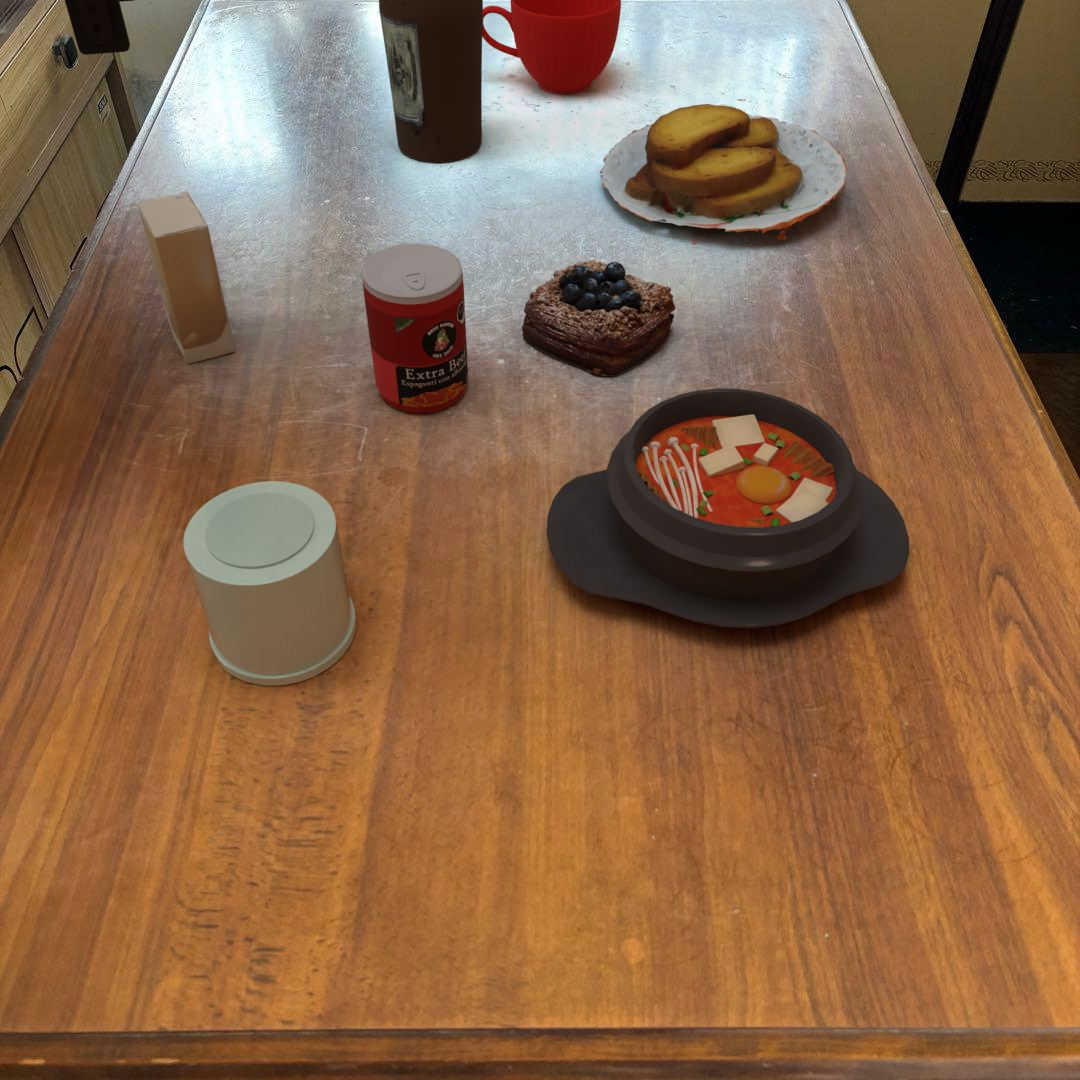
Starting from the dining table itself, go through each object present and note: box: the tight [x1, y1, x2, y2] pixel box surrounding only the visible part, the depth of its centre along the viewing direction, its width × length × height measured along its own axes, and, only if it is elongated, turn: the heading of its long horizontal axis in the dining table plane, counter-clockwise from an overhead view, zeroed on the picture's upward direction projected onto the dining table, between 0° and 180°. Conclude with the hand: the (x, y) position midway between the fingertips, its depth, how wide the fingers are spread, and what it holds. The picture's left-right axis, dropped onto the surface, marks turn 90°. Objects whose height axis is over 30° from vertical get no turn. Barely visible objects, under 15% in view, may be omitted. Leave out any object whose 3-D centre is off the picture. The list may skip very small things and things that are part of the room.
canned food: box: [361, 243, 469, 414], centre depth 87 cm, size 8×8×11 cm
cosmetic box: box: [136, 191, 236, 365], centre depth 92 cm, size 6×4×12 cm
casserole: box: [546, 387, 910, 629], centre depth 75 cm, size 25×19×8 cm
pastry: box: [521, 259, 676, 377], centre depth 95 cm, size 11×12×6 cm
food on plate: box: [599, 103, 849, 245], centre depth 114 cm, size 25×25×7 cm
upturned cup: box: [182, 480, 357, 687], centre depth 69 cm, size 9×9×9 cm
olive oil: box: [378, 0, 484, 163], centre depth 115 cm, size 11×11×25 cm
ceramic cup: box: [482, 0, 622, 95], centre depth 132 cm, size 13×17×10 cm
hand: (111, 24), depth 76 cm, fingers open, 9 cm apart
